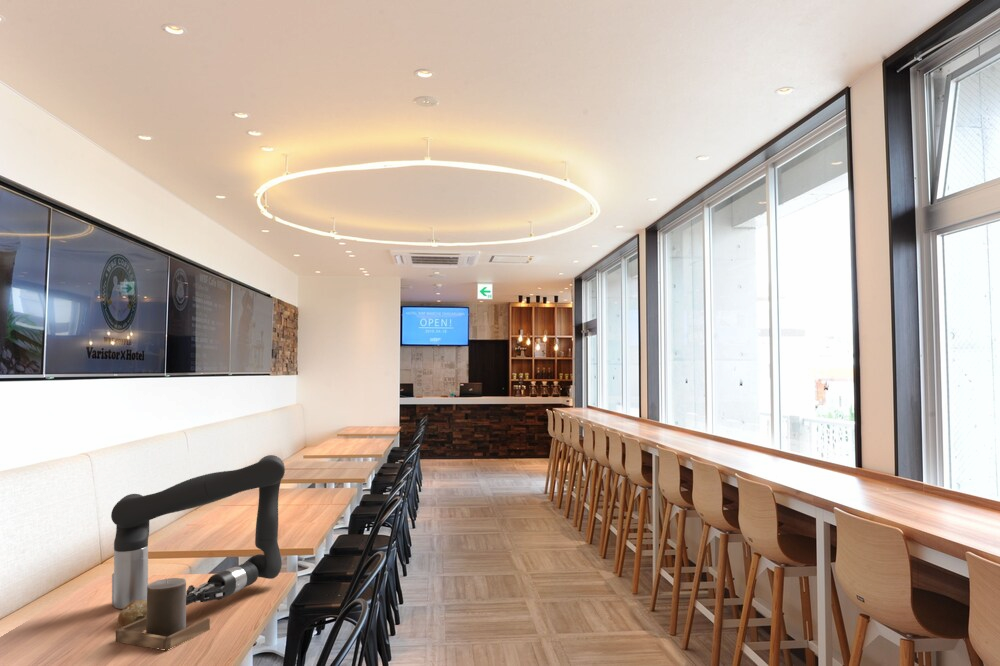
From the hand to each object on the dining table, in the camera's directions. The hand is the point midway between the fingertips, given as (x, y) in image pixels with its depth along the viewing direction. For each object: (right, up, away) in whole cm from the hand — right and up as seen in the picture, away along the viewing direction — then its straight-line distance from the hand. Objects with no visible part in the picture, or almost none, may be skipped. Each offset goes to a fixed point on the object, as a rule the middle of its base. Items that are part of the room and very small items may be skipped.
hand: (181, 602), depth 183 cm
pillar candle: (-2, -7, -5) cm, 8 cm away
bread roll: (-15, -8, +4) cm, 17 cm away
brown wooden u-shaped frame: (-2, -7, -5) cm, 9 cm away
